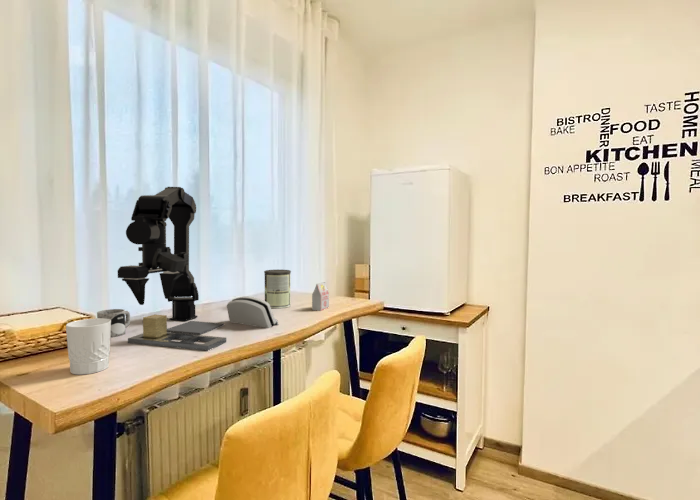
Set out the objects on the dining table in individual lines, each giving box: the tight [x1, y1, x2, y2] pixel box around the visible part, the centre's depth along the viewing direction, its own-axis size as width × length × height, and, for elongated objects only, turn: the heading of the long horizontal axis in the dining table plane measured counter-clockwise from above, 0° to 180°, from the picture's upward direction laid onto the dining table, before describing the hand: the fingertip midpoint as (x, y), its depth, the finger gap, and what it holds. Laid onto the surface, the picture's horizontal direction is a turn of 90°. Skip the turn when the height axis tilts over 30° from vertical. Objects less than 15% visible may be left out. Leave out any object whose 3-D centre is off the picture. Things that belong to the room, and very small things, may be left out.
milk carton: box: [311, 282, 330, 312], centre depth 149 cm, size 4×7×10 cm, turn 157°
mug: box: [96, 308, 131, 338], centre depth 111 cm, size 10×7×7 cm
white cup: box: [65, 317, 112, 376], centre depth 82 cm, size 8×8×10 cm
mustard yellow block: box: [142, 314, 168, 339], centre depth 104 cm, size 4×4×6 cm
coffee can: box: [263, 269, 292, 310], centre depth 153 cm, size 10×10×14 cm
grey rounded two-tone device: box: [226, 296, 279, 329], centre depth 123 cm, size 17×5×10 cm, turn 62°
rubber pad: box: [167, 320, 225, 335], centre depth 117 cm, size 12×12×1 cm
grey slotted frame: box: [127, 332, 227, 352], centre depth 102 cm, size 24×8×1 cm, turn 75°
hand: (155, 301), depth 104 cm, fingers open, 9 cm apart
